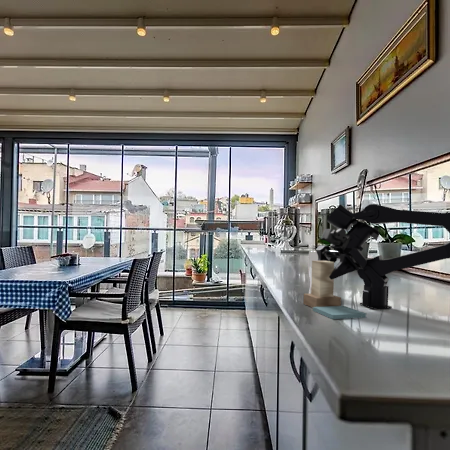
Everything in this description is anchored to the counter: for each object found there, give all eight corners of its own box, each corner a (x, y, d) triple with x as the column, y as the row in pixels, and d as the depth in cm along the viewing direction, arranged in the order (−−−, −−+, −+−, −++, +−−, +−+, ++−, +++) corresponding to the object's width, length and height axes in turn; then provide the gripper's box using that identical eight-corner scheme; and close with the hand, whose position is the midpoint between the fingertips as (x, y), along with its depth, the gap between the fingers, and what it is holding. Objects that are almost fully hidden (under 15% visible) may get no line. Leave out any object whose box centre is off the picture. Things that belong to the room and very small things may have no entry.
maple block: (324, 294, 104) (325, 260, 104) (333, 296, 99) (334, 262, 100) (311, 294, 102) (312, 260, 103) (319, 297, 98) (320, 262, 98)
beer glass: (330, 294, 120) (331, 251, 121) (324, 297, 114) (325, 252, 115) (310, 292, 124) (312, 250, 124) (304, 294, 118) (305, 250, 118)
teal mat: (344, 309, 97) (344, 305, 97) (366, 317, 89) (366, 313, 89) (312, 310, 94) (313, 306, 94) (332, 319, 86) (332, 315, 86)
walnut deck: (326, 302, 105) (326, 293, 105) (340, 308, 99) (341, 297, 99) (303, 303, 103) (303, 293, 103) (316, 309, 96) (316, 298, 96)
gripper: (321, 220, 112) (289, 254, 109) (358, 218, 94) (321, 259, 91) (342, 245, 114) (311, 279, 111) (382, 248, 96) (347, 288, 93)
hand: (321, 276), depth 101 cm, fingers open, 9 cm apart
